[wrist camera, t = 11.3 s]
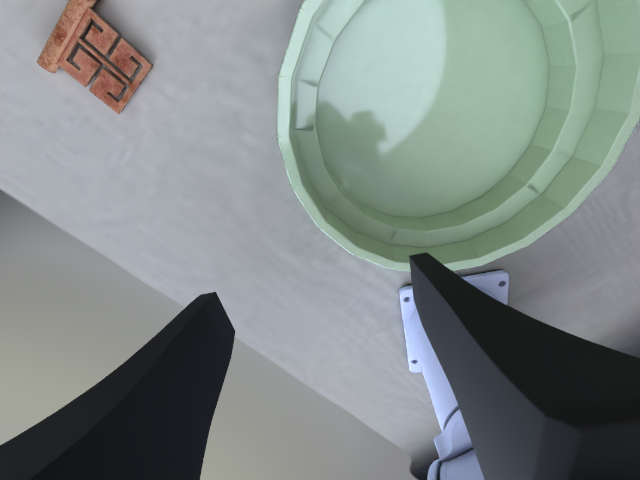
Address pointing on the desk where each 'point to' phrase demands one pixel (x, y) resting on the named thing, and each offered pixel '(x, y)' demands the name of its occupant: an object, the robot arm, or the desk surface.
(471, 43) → the bowl
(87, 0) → the key
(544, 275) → the desk surface
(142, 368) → the robot arm
